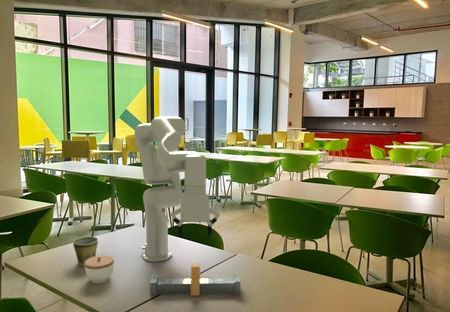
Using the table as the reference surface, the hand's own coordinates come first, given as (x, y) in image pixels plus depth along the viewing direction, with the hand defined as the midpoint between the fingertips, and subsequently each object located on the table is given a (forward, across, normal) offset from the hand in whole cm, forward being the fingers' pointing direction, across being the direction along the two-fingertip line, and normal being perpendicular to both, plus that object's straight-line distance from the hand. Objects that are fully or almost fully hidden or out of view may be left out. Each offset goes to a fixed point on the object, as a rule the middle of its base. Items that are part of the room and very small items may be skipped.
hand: (195, 235), depth 131 cm
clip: (+20, 0, 0) cm, 20 cm away
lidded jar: (+22, -38, +10) cm, 44 cm away
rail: (+21, 0, 0) cm, 21 cm away
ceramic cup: (+22, -48, +28) cm, 60 cm away
